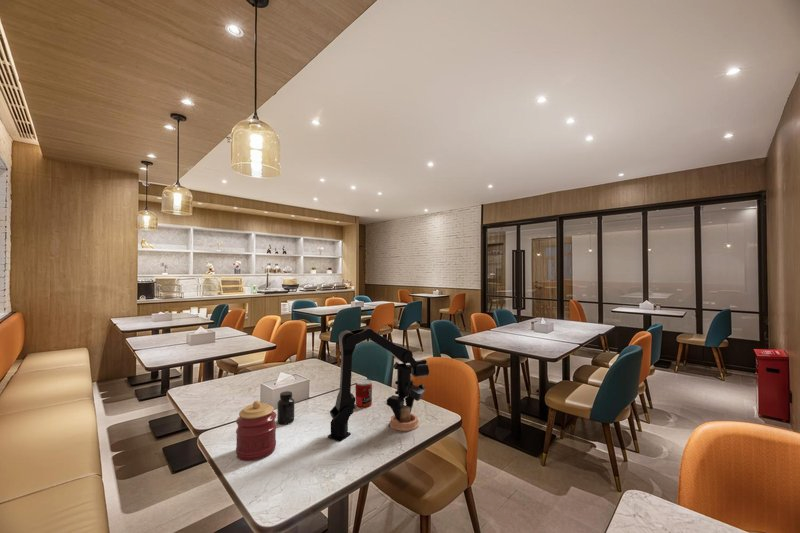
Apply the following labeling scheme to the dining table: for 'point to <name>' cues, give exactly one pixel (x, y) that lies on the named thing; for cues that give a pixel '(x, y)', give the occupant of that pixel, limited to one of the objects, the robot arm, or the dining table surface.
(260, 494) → the dining table surface
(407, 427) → the dish
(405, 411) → the bead
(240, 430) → the canister
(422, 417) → the dining table surface
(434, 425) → the dining table surface
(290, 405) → the supplement bottle
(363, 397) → the canned food
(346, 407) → the robot arm
